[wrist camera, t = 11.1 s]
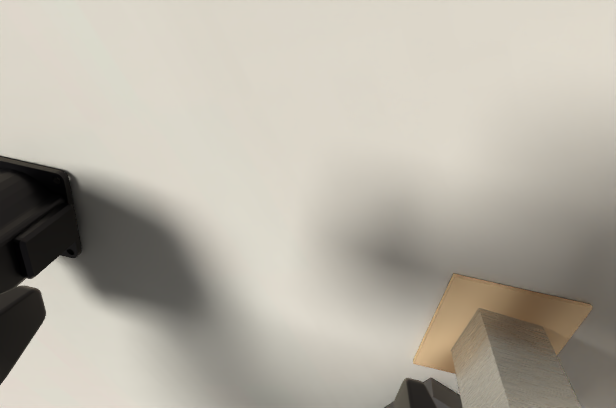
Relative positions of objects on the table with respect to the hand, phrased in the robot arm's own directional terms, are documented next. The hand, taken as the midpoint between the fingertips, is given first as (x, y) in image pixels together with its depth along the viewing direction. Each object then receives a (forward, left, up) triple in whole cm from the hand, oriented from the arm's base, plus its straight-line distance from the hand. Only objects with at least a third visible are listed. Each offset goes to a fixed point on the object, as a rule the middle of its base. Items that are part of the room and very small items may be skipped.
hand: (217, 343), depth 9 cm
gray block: (+14, -10, -13) cm, 21 cm away
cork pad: (+14, -10, -13) cm, 22 cm away
